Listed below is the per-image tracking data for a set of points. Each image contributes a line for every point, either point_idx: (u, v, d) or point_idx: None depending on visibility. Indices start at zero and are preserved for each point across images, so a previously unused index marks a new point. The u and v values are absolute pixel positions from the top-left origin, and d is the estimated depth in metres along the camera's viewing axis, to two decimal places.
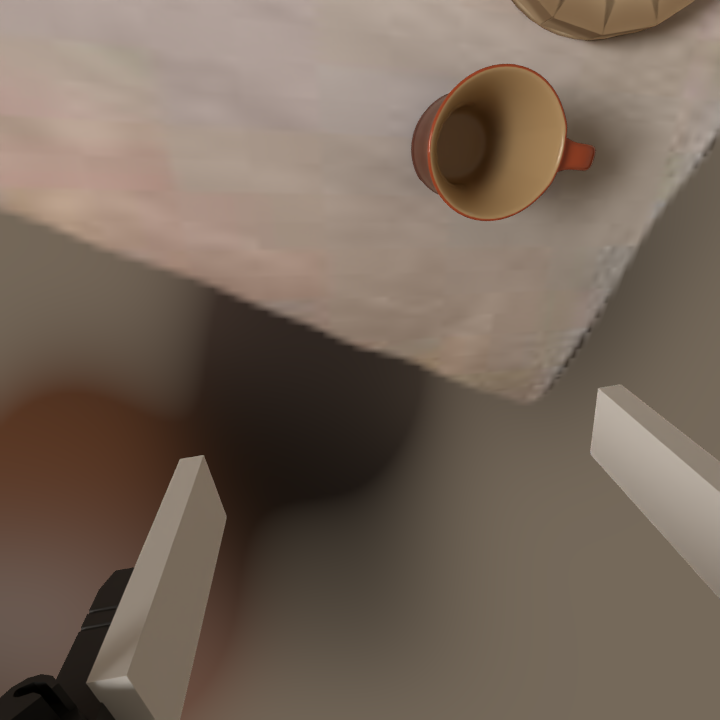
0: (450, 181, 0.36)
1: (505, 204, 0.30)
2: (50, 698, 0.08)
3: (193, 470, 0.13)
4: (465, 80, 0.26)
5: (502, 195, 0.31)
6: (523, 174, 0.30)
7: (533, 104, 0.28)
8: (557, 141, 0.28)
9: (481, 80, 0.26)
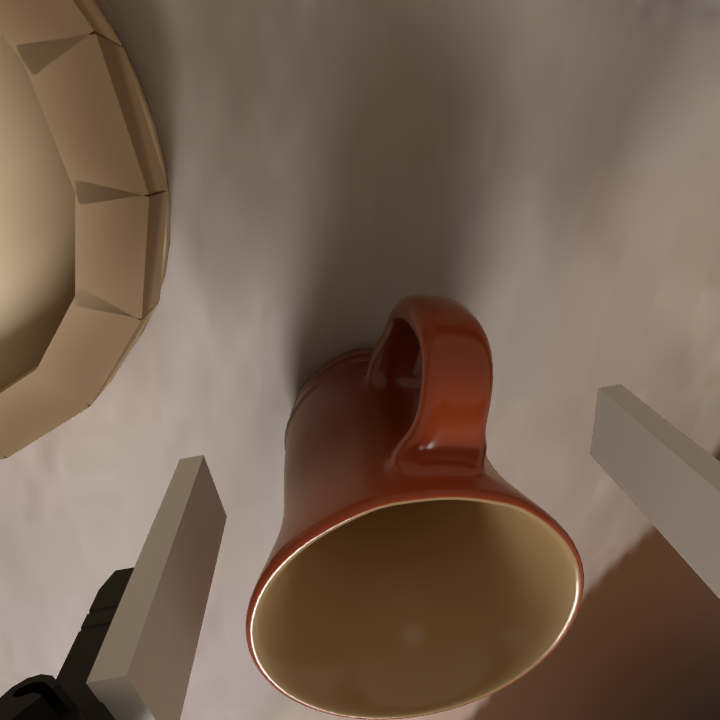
0: None
1: (541, 548, 0.12)
2: (50, 698, 0.08)
3: (193, 470, 0.13)
4: (285, 694, 0.12)
5: (509, 517, 0.13)
6: None
7: None
8: None
9: (282, 648, 0.12)
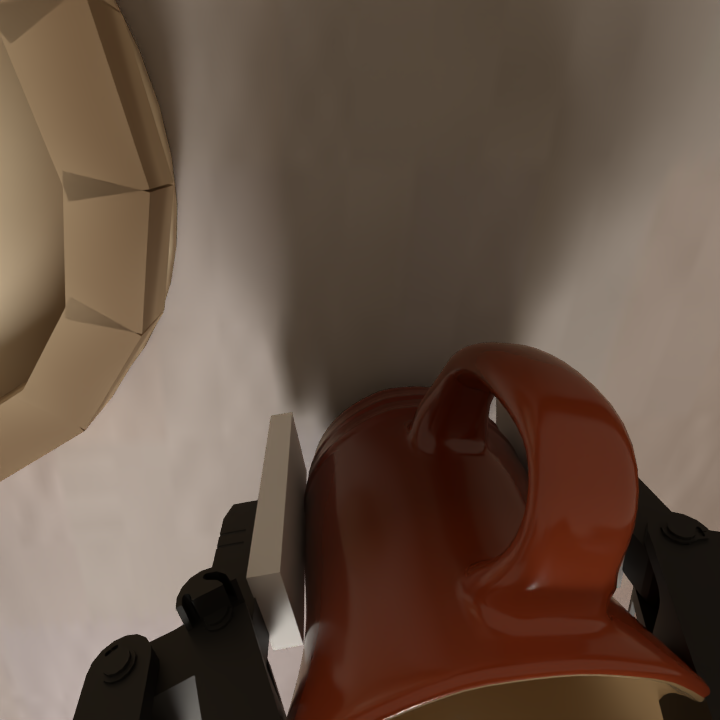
0: None
1: None
2: (226, 589, 0.10)
3: (286, 424, 0.15)
4: None
5: None
6: None
7: None
8: None
9: None
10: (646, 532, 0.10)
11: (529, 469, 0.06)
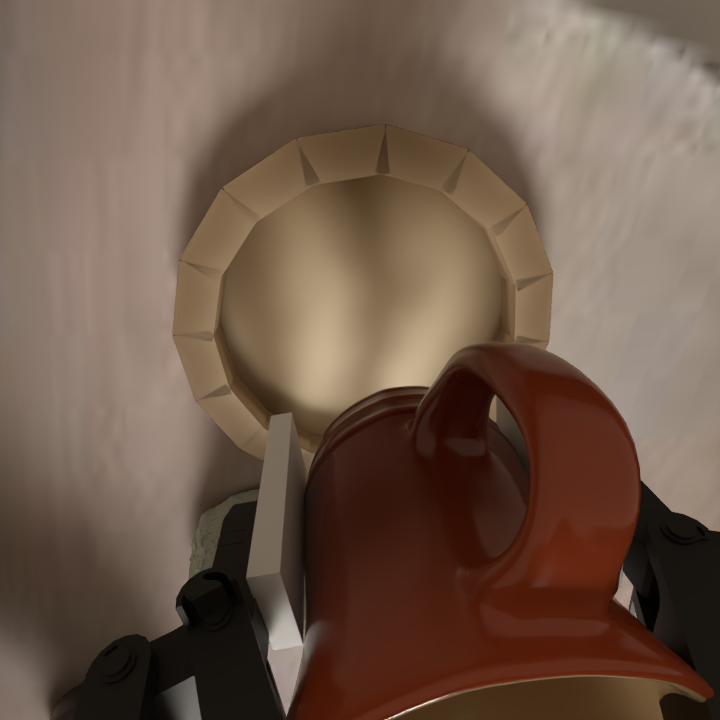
0: None
1: None
2: (226, 589, 0.10)
3: (286, 424, 0.15)
4: None
5: None
6: None
7: None
8: None
9: None
10: (646, 532, 0.10)
11: (530, 468, 0.06)
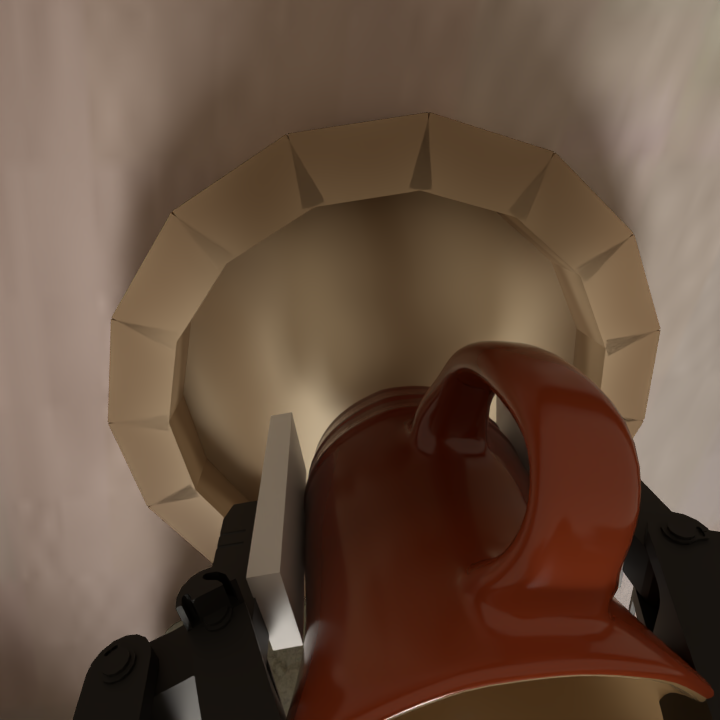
0: None
1: None
2: (226, 589, 0.10)
3: (286, 424, 0.15)
4: None
5: None
6: None
7: None
8: None
9: None
10: (646, 532, 0.10)
11: (530, 468, 0.06)
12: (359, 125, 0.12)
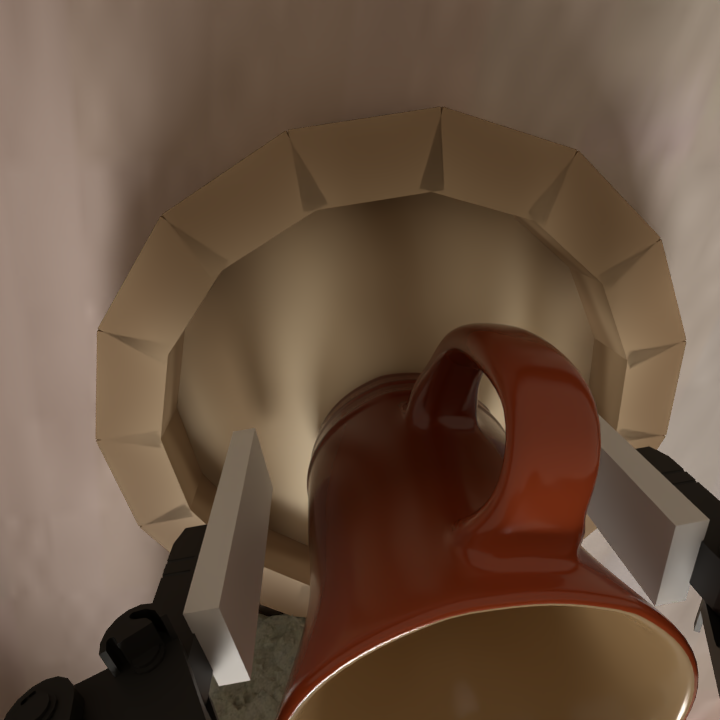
0: None
1: (636, 643, 0.09)
2: (156, 626, 0.09)
3: (247, 440, 0.14)
4: None
5: None
6: None
7: None
8: None
9: None
10: None
11: (506, 425, 0.07)
12: (365, 121, 0.11)
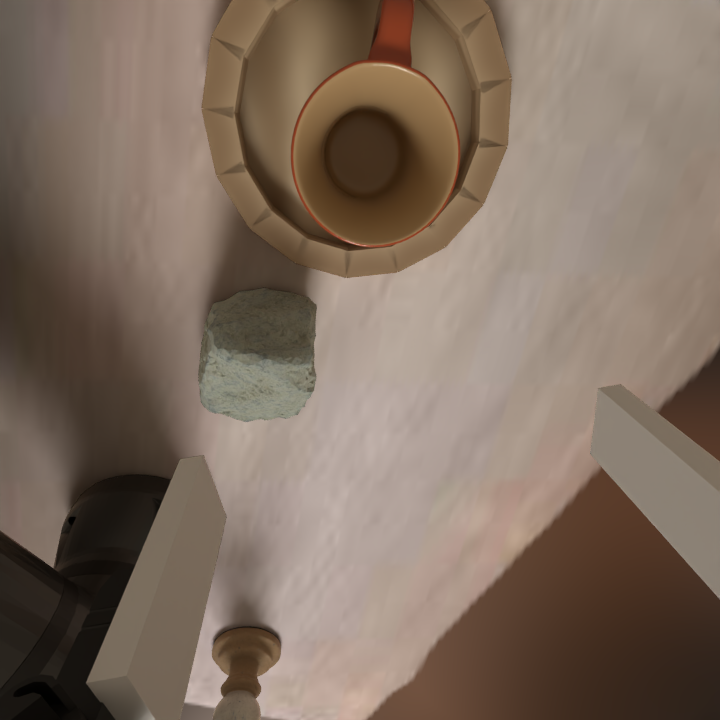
0: (400, 163, 0.31)
1: (441, 136, 0.23)
2: (50, 698, 0.08)
3: (193, 470, 0.13)
4: (306, 207, 0.23)
5: (429, 134, 0.24)
6: (408, 103, 0.23)
7: (330, 103, 0.23)
8: (375, 71, 0.21)
9: (306, 183, 0.23)
10: None
11: (381, 4, 0.21)
12: None
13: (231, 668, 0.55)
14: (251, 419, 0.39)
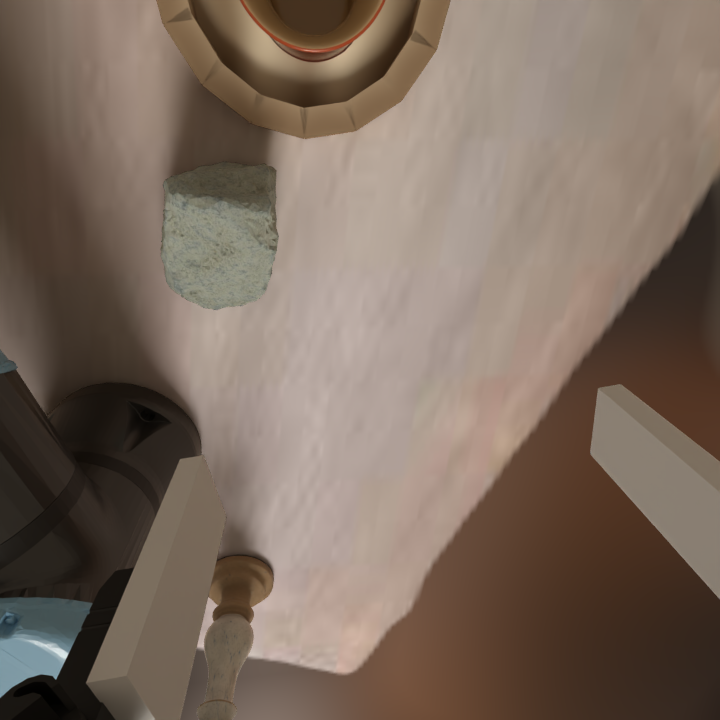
0: (348, 5, 0.30)
1: None
2: (50, 699, 0.08)
3: (193, 470, 0.13)
4: (244, 4, 0.23)
5: None
6: None
7: None
8: None
9: None
10: None
11: None
12: None
13: (223, 596, 0.54)
14: (221, 306, 0.39)
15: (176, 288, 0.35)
